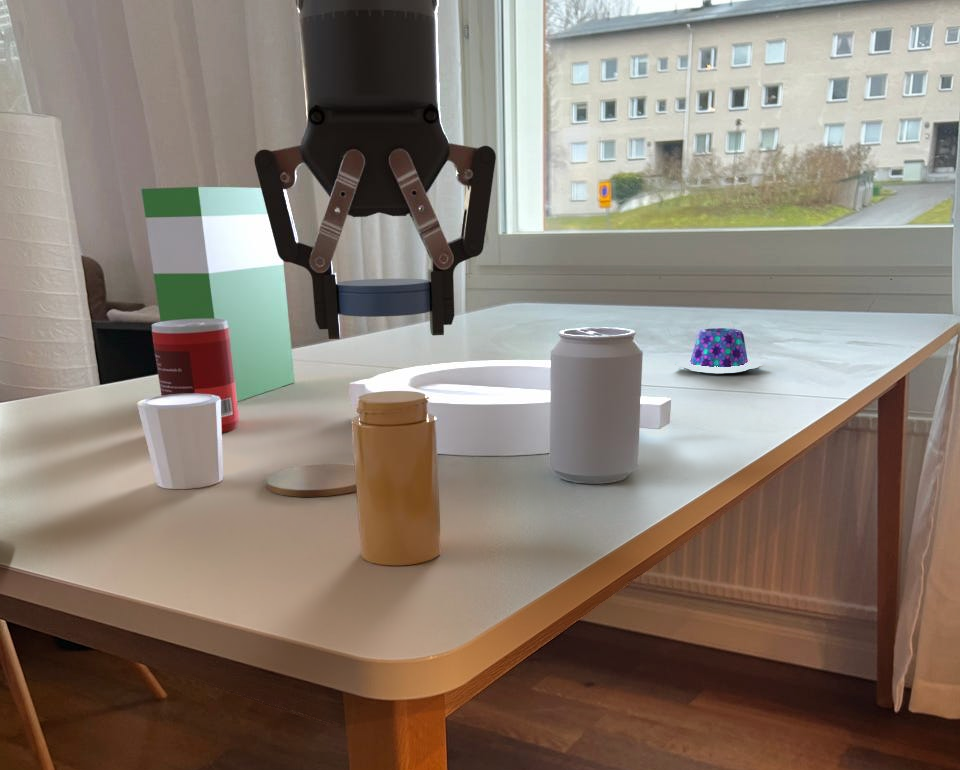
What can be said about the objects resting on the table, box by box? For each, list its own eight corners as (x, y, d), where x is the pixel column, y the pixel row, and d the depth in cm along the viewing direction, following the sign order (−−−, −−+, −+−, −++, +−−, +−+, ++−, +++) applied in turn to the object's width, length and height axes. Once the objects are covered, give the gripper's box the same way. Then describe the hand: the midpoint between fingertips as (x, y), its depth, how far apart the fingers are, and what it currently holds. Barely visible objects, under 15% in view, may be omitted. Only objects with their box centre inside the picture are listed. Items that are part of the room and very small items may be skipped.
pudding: (729, 379, 129) (732, 337, 127) (655, 370, 137) (657, 331, 135) (780, 368, 136) (784, 329, 134) (707, 361, 145) (710, 323, 142)
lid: (429, 305, 63) (428, 277, 63) (436, 314, 58) (435, 284, 57) (337, 308, 63) (335, 280, 62) (336, 318, 57) (334, 287, 57)
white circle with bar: (345, 412, 114) (342, 369, 112) (572, 394, 121) (572, 354, 119) (402, 467, 89) (400, 413, 87) (682, 440, 97) (685, 390, 95)
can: (617, 490, 80) (623, 336, 75) (534, 480, 84) (534, 332, 79) (650, 469, 86) (657, 326, 81) (571, 461, 90) (573, 323, 85)
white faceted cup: (182, 495, 82) (170, 409, 79) (132, 483, 86) (119, 401, 83) (246, 477, 87) (237, 396, 84) (197, 467, 91) (186, 389, 88)
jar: (376, 570, 64) (365, 407, 60) (350, 547, 68) (338, 394, 64) (453, 557, 66) (448, 398, 62) (423, 536, 70) (416, 386, 66)
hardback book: (246, 380, 137) (224, 189, 127) (294, 382, 135) (276, 188, 125) (172, 403, 122) (141, 188, 112) (225, 405, 119) (198, 186, 110)
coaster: (266, 500, 80) (265, 493, 79) (266, 474, 88) (265, 467, 88) (378, 492, 81) (377, 485, 81) (367, 467, 89) (367, 460, 89)
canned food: (245, 420, 111) (233, 317, 106) (233, 435, 103) (220, 325, 99) (175, 422, 110) (160, 319, 106) (159, 437, 103) (142, 327, 99)
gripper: (490, 26, 58) (493, 325, 65) (241, 26, 57) (271, 332, 64) (508, 2, 51) (510, 339, 58) (226, 2, 50) (262, 348, 57)
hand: (385, 334), depth 61 cm, fingers closed on lid, 5 cm apart
